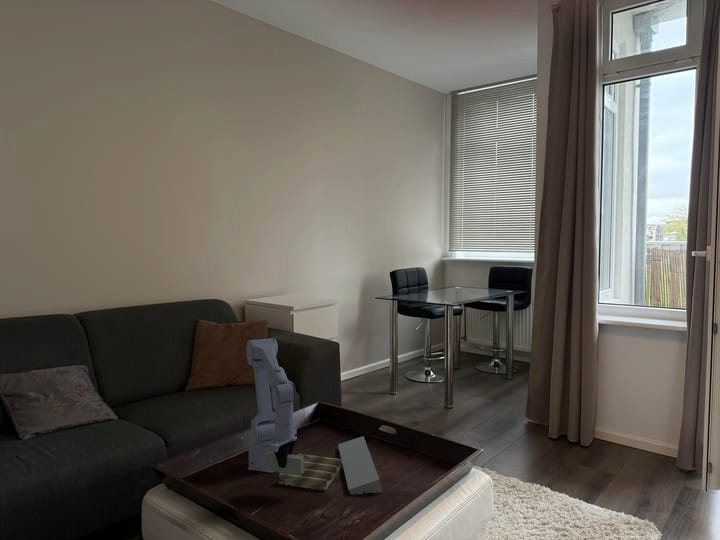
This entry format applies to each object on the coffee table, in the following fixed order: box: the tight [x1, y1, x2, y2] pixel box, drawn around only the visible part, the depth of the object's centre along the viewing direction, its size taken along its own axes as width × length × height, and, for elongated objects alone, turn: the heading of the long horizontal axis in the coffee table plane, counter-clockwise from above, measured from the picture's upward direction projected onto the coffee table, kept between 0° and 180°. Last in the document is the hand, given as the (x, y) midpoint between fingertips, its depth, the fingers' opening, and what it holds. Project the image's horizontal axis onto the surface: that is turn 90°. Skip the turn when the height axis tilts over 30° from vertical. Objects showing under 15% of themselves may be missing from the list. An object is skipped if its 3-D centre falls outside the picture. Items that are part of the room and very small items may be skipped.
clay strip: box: [265, 451, 304, 475], centre depth 156 cm, size 12×2×5 cm, turn 73°
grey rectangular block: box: [337, 435, 383, 496], centre depth 172 cm, size 34×5×10 cm
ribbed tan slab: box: [278, 453, 343, 492], centre depth 167 cm, size 16×17×3 cm
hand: (284, 465), depth 156 cm, fingers closed on clay strip, 2 cm apart
